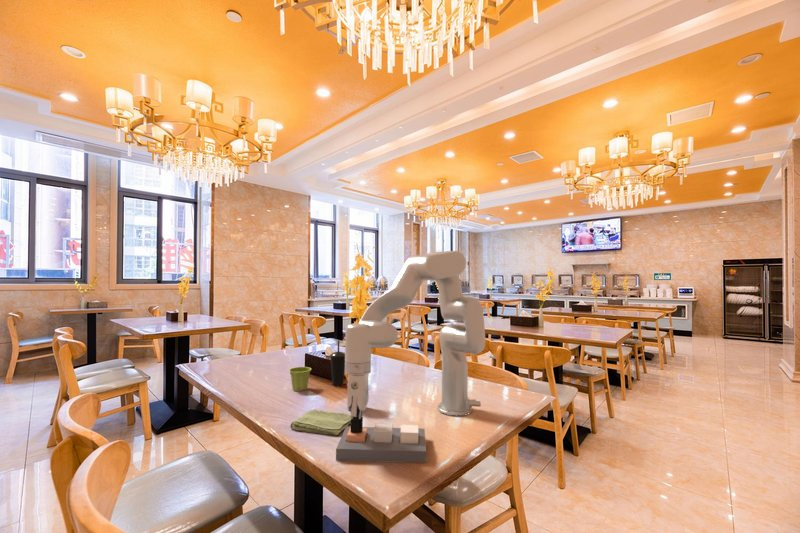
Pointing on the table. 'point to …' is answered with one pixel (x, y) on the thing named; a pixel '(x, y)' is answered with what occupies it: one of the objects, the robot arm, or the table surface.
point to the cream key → (409, 434)
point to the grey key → (383, 433)
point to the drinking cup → (337, 367)
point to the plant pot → (299, 378)
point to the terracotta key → (357, 436)
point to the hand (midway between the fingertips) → (356, 431)
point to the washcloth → (321, 422)
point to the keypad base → (382, 448)
